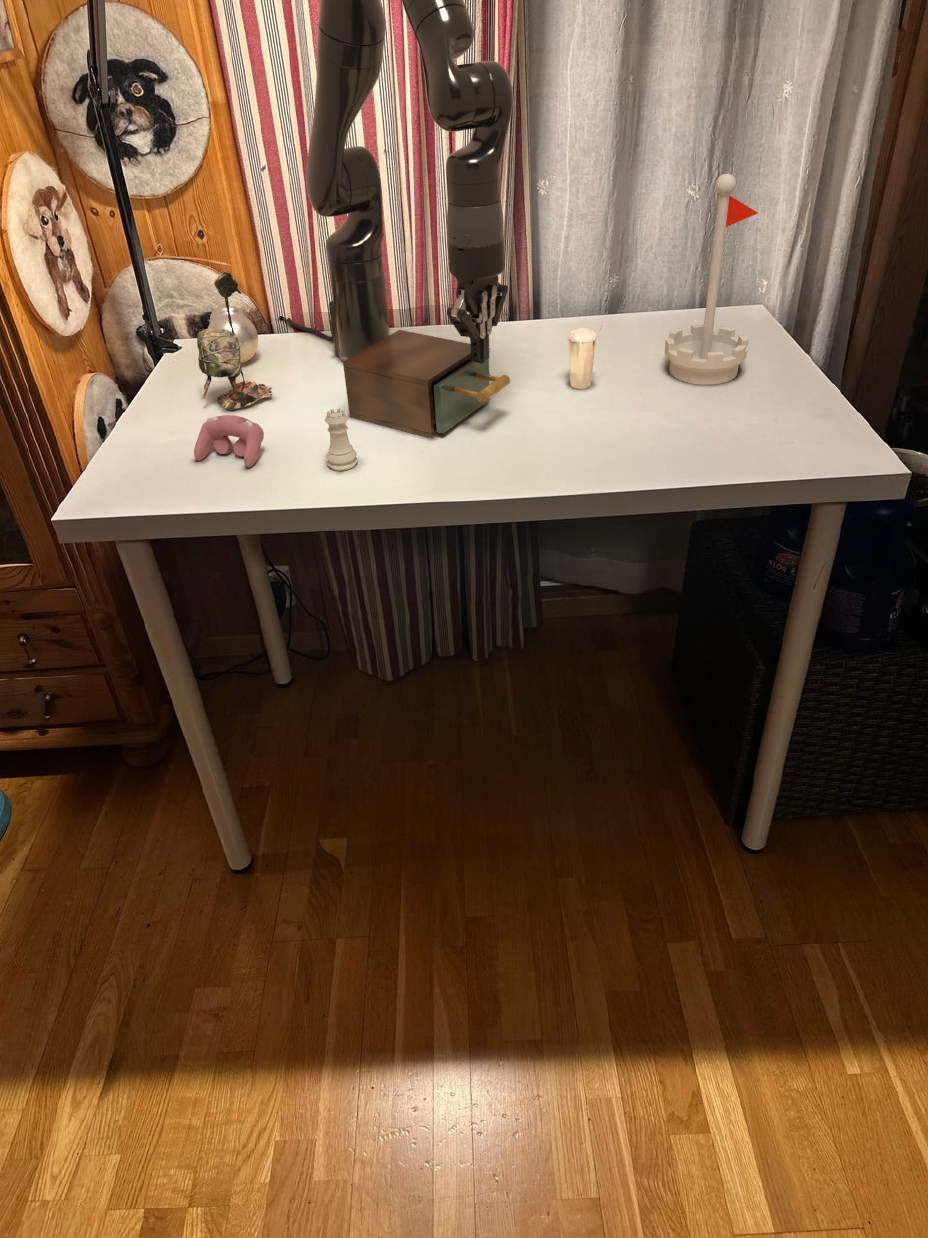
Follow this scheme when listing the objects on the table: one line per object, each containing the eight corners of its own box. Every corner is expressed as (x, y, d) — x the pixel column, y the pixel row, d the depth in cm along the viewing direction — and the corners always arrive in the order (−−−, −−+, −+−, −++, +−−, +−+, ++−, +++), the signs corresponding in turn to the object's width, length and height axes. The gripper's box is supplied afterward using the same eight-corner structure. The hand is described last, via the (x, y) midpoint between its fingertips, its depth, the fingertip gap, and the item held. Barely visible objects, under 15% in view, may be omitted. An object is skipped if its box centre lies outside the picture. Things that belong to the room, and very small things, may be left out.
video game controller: (266, 467, 136) (269, 419, 134) (249, 468, 131) (252, 418, 130) (208, 459, 138) (210, 412, 137) (190, 460, 134) (192, 411, 133)
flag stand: (655, 381, 150) (672, 182, 131) (672, 351, 159) (690, 162, 141) (737, 391, 146) (767, 186, 127) (749, 360, 155) (779, 165, 137)
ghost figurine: (266, 350, 168) (256, 295, 162) (258, 371, 161) (247, 314, 154) (216, 353, 168) (204, 298, 162) (206, 373, 161) (193, 317, 154)
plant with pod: (202, 396, 153) (173, 274, 141) (270, 385, 155) (247, 263, 143) (206, 416, 147) (176, 290, 135) (277, 404, 149) (254, 279, 137)
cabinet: (483, 401, 147) (481, 345, 141) (431, 438, 137) (427, 380, 132) (404, 382, 154) (399, 329, 148) (349, 417, 144) (342, 361, 139)
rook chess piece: (364, 459, 133) (357, 408, 128) (348, 474, 130) (341, 421, 125) (337, 454, 135) (330, 403, 130) (321, 468, 131) (313, 416, 126)
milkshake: (598, 391, 148) (601, 330, 142) (564, 389, 149) (566, 329, 143) (600, 379, 151) (603, 319, 145) (568, 378, 152) (569, 318, 146)
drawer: (521, 406, 143) (521, 361, 138) (475, 441, 134) (473, 394, 129) (415, 382, 152) (411, 338, 147) (365, 413, 143) (360, 368, 138)
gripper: (478, 220, 129) (482, 341, 140) (424, 246, 121) (433, 372, 131) (524, 226, 126) (525, 349, 136) (473, 253, 117) (478, 382, 128)
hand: (480, 360), depth 134 cm, fingers closed
